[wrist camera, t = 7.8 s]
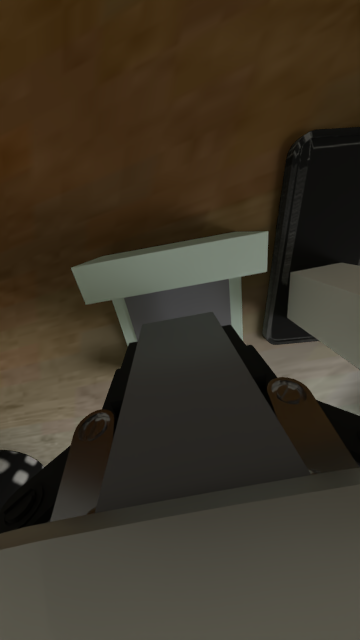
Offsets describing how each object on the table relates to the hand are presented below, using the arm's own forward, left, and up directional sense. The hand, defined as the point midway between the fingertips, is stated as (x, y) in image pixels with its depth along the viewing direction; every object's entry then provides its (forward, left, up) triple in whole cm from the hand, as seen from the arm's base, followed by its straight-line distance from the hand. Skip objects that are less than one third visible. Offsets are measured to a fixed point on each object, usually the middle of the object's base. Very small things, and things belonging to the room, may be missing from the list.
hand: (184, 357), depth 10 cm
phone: (-12, -3, -7) cm, 14 cm away
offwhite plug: (-11, 0, -7) cm, 13 cm away
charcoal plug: (0, 0, -1) cm, 1 cm away
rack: (0, +4, -6) cm, 8 cm away
